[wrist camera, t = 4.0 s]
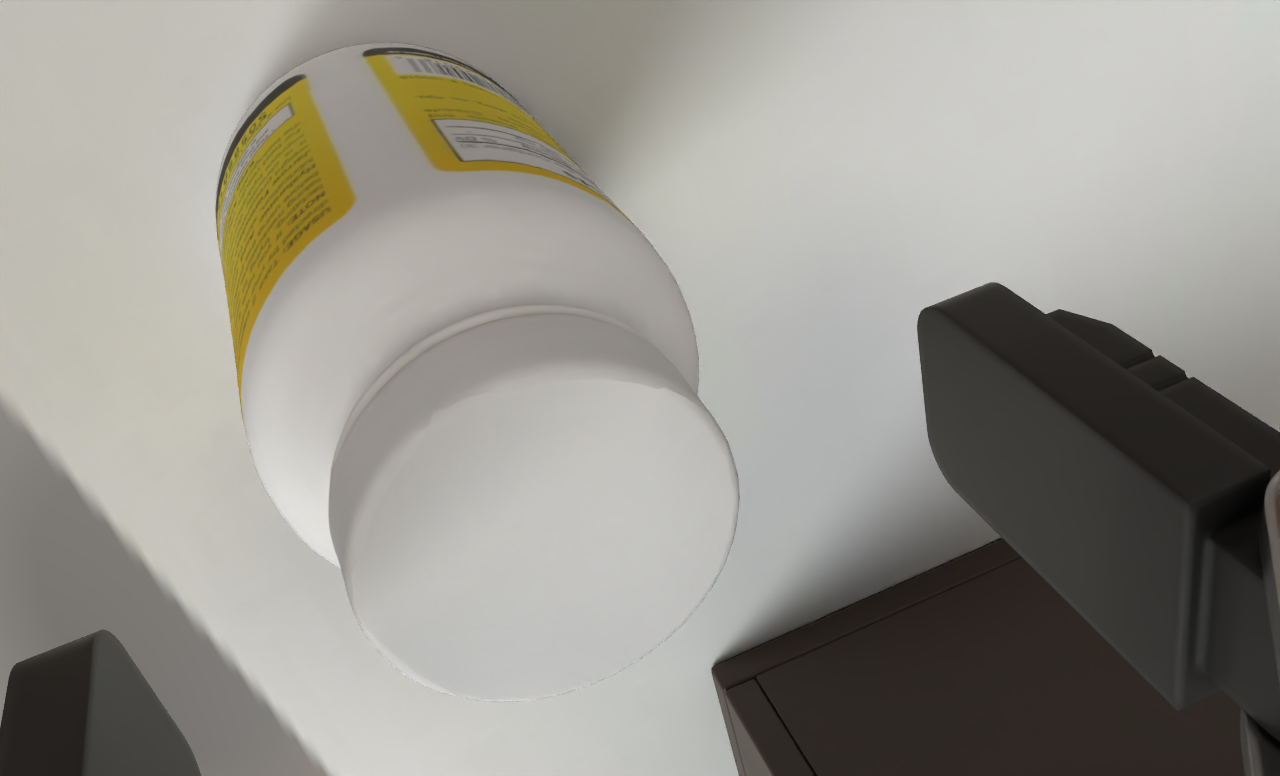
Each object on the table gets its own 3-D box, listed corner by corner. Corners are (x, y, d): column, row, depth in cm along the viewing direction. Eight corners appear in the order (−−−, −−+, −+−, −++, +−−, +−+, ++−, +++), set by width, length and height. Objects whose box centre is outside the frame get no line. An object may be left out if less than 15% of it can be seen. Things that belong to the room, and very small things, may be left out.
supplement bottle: (287, 393, 20) (369, 833, 12) (155, 94, 17) (150, 418, 9) (577, 291, 21) (830, 636, 13) (500, -7, 18) (767, 204, 10)
